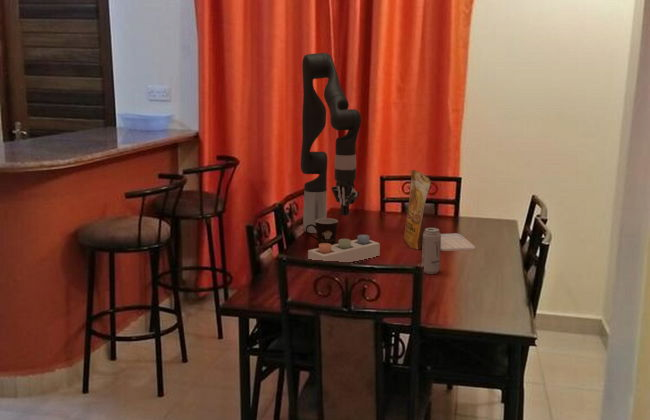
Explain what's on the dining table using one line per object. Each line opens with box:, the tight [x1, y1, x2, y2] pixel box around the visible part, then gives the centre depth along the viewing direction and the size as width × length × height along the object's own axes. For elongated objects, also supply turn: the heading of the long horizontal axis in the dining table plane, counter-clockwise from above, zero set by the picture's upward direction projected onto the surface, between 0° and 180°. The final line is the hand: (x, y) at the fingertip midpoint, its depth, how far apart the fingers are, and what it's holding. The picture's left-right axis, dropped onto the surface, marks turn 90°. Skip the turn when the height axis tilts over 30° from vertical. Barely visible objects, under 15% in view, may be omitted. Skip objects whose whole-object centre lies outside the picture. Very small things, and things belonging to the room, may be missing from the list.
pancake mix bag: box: [403, 169, 432, 250], centre depth 262 cm, size 7×19×28 cm, turn 7°
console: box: [307, 239, 381, 262], centre depth 244 cm, size 9×26×5 cm, turn 128°
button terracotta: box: [318, 243, 331, 254], centre depth 238 cm, size 4×4×3 cm
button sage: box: [337, 238, 352, 250], centre depth 243 cm, size 4×4×3 cm
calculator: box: [440, 232, 476, 252], centre depth 266 cm, size 13×20×2 cm, turn 8°
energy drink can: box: [421, 227, 442, 275], centre depth 231 cm, size 6×6×15 cm
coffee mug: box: [305, 217, 339, 246], centre depth 261 cm, size 12×9×10 cm
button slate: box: [357, 234, 370, 245], centre depth 249 cm, size 4×4×3 cm
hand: (344, 215), depth 241 cm, fingers closed
